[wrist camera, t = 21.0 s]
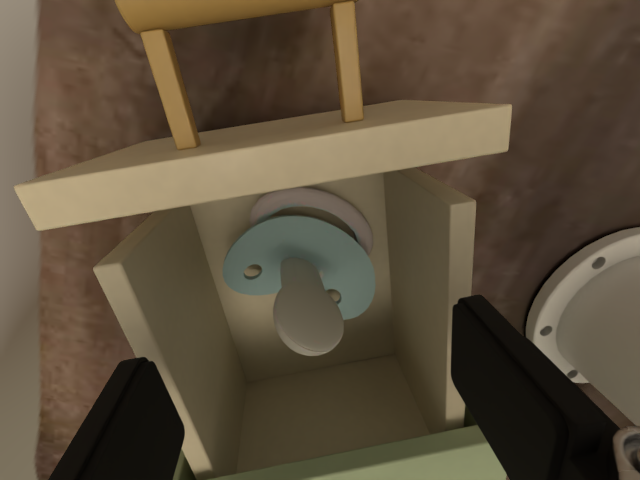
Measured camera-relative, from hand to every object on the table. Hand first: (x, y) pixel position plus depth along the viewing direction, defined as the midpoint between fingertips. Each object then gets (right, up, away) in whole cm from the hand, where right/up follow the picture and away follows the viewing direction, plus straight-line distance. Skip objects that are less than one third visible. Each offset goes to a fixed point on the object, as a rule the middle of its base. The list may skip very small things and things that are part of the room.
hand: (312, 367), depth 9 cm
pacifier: (0, +4, +8) cm, 8 cm away
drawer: (-1, +4, +8) cm, 10 cm away
